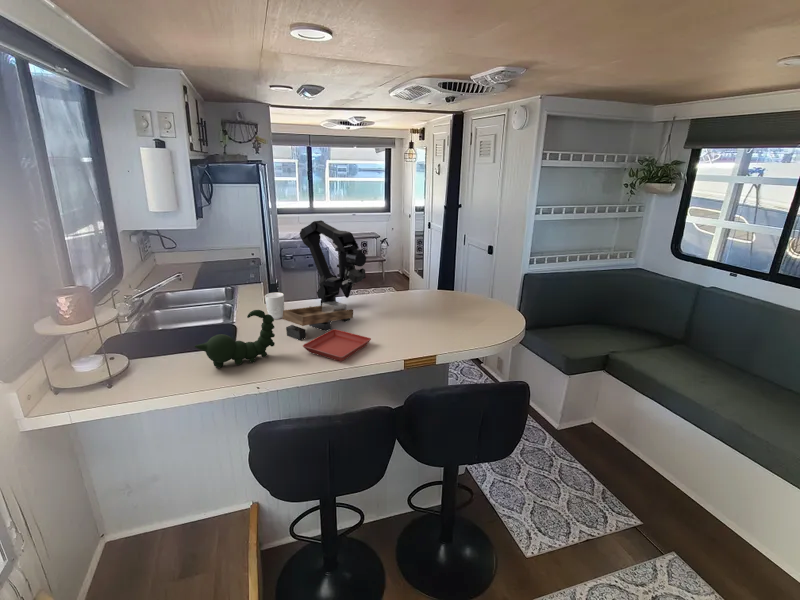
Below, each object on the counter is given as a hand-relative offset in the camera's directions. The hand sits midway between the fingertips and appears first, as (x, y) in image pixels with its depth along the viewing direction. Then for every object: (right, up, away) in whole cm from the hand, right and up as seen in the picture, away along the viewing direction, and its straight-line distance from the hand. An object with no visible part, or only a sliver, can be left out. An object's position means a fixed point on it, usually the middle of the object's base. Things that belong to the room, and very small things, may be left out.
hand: (347, 297), depth 182 cm
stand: (-10, -12, -10) cm, 19 cm away
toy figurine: (-32, -23, -38) cm, 55 cm away
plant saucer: (0, -20, -29) cm, 35 cm away
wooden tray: (-10, -9, -11) cm, 17 cm away
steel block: (-5, -6, -5) cm, 10 cm away
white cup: (-32, -9, +3) cm, 33 cm away
